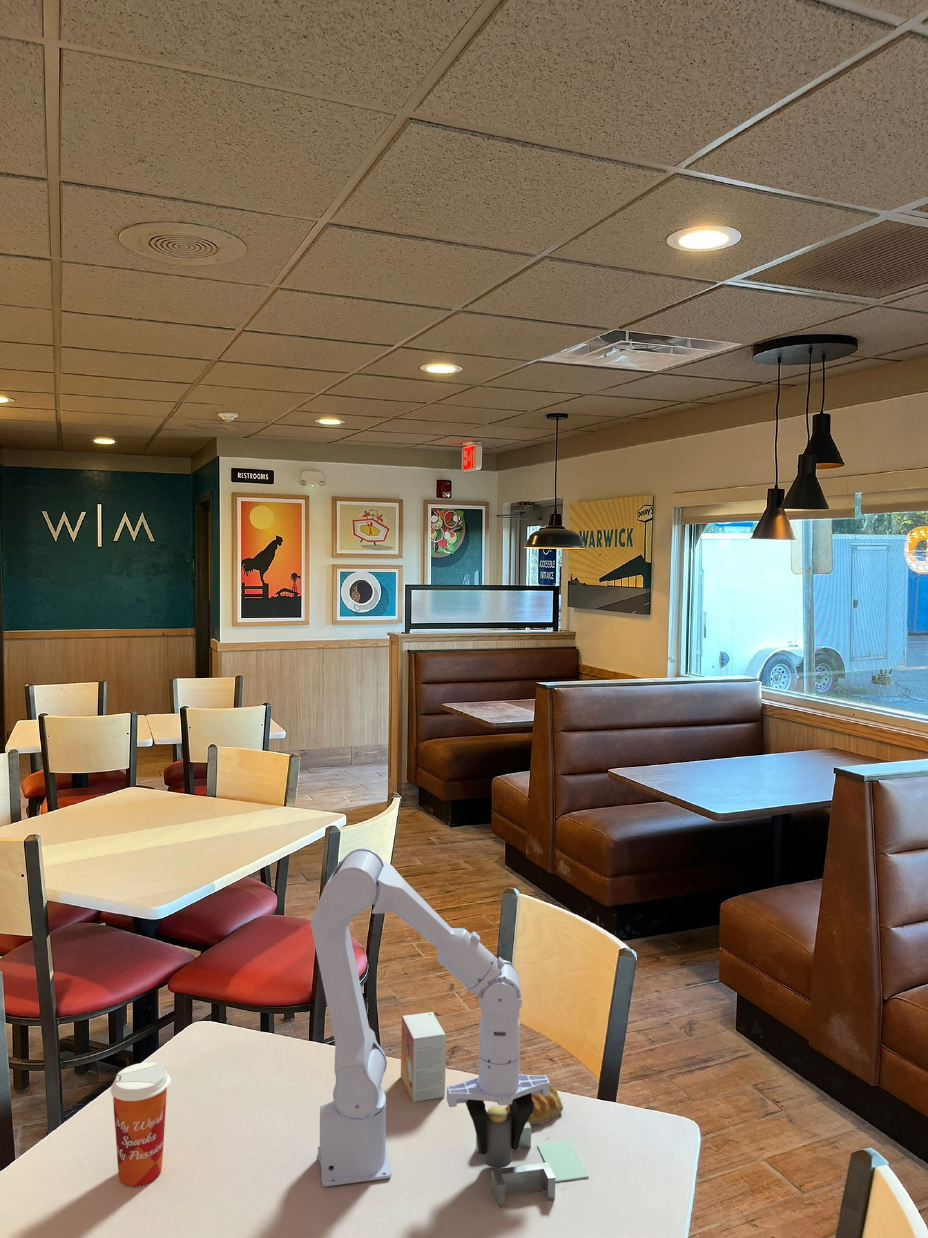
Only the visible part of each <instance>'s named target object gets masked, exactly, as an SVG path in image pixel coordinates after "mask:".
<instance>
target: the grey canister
mask: <svg viewBox="0 0 928 1238" xmlns="http://www.w3.org/2000/svg"><path fill="white" fill-rule="evenodd" d="M486 1111H487V1114H488V1119H487V1126H486V1154H483V1155H482V1161H483V1163H484V1164H485V1165H486V1166H488V1167H489V1168H491V1169H492V1168H493V1169H501V1168H507V1167H509V1165H510V1164H511V1163H512V1150H511V1142H512V1116H511V1114H510V1113H509V1112H508V1111H507V1109H506V1107H504V1106H502V1105H494V1106H491V1107H489V1108H488V1110H486Z"/></svg>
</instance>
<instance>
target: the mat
mask: <svg viewBox="0 0 928 1238" xmlns="http://www.w3.org/2000/svg"><path fill="white" fill-rule="evenodd" d="M537 1149H538V1150H539V1153H540V1155H541V1157H542V1159H543V1161H544V1163H546V1162H548V1163H549V1165H550V1167H551V1169H552V1172H553V1174H554V1176H555V1183H558V1182H559V1183H560V1182H567V1181H573V1180H581V1179H588V1178H589V1174H588V1172H587V1171H586V1168H585V1167H584V1165H583V1163H582V1161H581V1159H580V1157H579V1155H578V1153H577V1152H576V1150H575V1148H574V1146H573V1144H572V1143H571V1140H566V1141H565V1140H564V1141H559V1142H558V1141H556V1142H550V1143H543V1144H537Z"/></svg>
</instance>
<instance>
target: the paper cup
mask: <svg viewBox="0 0 928 1238" xmlns="http://www.w3.org/2000/svg"><path fill="white" fill-rule="evenodd" d="M171 1080H172V1079H171V1076H170V1075H169V1073H168V1072H167V1071H166V1069H165V1067H164V1066H162V1065H161V1064H159V1063H156V1062H141V1063H135V1064H132V1065H129V1066H127V1067H124V1068H123V1069H122V1070H119V1071H118V1073H117V1074H116V1075H115V1079H114V1081H113V1083H112V1084H111V1086H110V1093H111V1095H112V1096H113V1097H112V1099H113V1100H112V1102H113V1117H114V1118H113V1120H114V1128H115V1142H116V1156H117V1159H116V1160H117V1171H118V1180H119V1182H120V1184H122V1185H123V1184H124V1185H123V1186H124V1187H127V1186H130V1187H129V1188H139V1186H140V1187H143V1185H144V1186H147V1185H149V1184H151V1183H153V1182H155V1181H156V1180H157V1179H158V1178H159V1176H160V1175H161V1173H162V1170H163V1169H162V1168H163V1155H164V1154H163V1153H164V1141H165V1126H166V1124H165V1122H166V1109H167V1108H166V1107H167V1095H168V1092H167V1089H168V1087H169V1085H170V1084H171ZM146 1184H147V1185H146ZM131 1186H132V1187H131ZM136 1186H137V1187H136Z"/></svg>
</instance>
